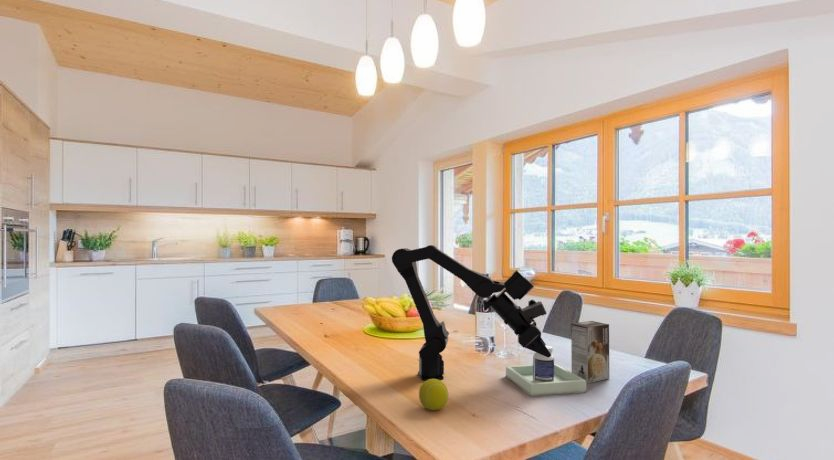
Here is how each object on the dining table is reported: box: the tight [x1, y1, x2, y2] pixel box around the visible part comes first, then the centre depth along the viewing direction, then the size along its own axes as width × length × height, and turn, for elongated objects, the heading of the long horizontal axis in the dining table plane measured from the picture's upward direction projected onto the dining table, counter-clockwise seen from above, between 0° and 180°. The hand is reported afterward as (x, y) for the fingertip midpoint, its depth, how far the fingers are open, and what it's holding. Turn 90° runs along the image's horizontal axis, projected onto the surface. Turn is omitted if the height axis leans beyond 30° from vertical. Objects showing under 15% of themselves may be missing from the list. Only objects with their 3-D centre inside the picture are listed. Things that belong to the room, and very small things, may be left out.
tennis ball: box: [418, 379, 449, 411], centre depth 103 cm, size 7×7×7 cm
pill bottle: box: [532, 344, 555, 383], centre depth 122 cm, size 6×6×10 cm
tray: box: [505, 362, 587, 397], centre depth 121 cm, size 16×16×3 cm
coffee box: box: [570, 320, 610, 384], centre depth 127 cm, size 9×6×16 cm
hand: (547, 351), depth 121 cm, fingers open, 9 cm apart
